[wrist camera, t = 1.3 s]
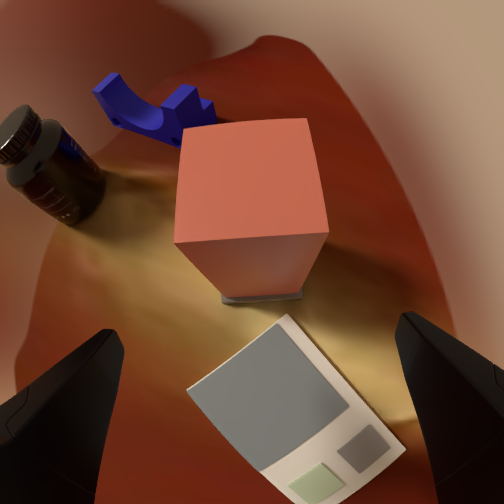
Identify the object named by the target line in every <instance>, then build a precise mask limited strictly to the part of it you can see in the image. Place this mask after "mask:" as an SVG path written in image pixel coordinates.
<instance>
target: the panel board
mask: <svg viewBox="0 0 504 504" xmlns="http://www.w3.org/2000/svg"><path fill="white" fill-rule="evenodd" d="M187 393H188V394H189V395H190V397H191V398H192V399H193V400H194V402H195V403H196V404H197V405H198V407H199V408H200V409H201V410H202V411H203V413H204V414H205V415H206V416H207V417H208V419H209V420H210V421H211V422H212V423H213V424H214V426H215V427H216V428H217V429H218V430H219V431H220V432H221V433H222V435H223V436H224V437H225V438H226V439H227V440H228V441H229V442H230V443H231V444H232V445H233V447H234V448H235V449H236V450H237V451H238V452H239V453H240V454H241V455H242V456H243V457H244V458H245V459H246V460H247V461H248V462H249V463H250V464H251V465H252V466H253V467H254V468H255V469H256V470H257V471H258V472H260V473H261V474H262V475H263V476H265V477H266V478H267V479H268V480H269V481H270V482H271V483H272V484H273V485H274V486H275V487H276V488H278V489H279V490H280V491H281V492H282V493H283V494H284V495H286V496H287V497H288V498H289V499H290V500H291V501H293V502H294V503H295V504H338V503H340V502H341V501H343V500H344V499H346V498H347V497H349V496H350V495H352V494H353V493H354V492H356V491H357V490H359V489H360V488H361V487H363V486H364V485H365V484H367V483H368V482H369V481H370V480H372V479H373V478H374V477H375V476H377V475H378V474H379V473H380V472H382V471H383V470H384V469H385V468H386V467H388V466H389V465H390V464H391V463H392V462H393V461H394V460H396V459H397V458H398V457H399V456H400V455H401V454H402V453H403V452H404V451H405V450H406V449H405V448H404V446H403V445H402V444H401V443H400V442H399V441H398V440H397V439H396V437H395V436H394V435H393V434H392V433H391V432H390V431H389V430H388V429H387V427H386V426H385V425H384V424H383V423H382V422H381V421H380V420H379V418H378V417H377V416H376V415H375V414H374V413H373V412H372V411H371V409H370V408H369V407H368V406H367V405H366V404H365V403H364V401H363V400H362V399H361V398H360V397H359V396H358V395H357V393H356V392H355V391H354V390H353V389H352V388H351V387H350V385H349V384H348V383H347V382H346V381H345V380H344V379H343V377H342V376H341V375H340V374H339V373H338V372H337V371H336V369H335V368H334V367H333V366H332V365H331V364H330V363H329V361H328V360H327V359H326V358H325V357H324V356H323V354H322V353H321V352H320V351H319V350H318V349H317V347H316V346H315V345H314V344H313V343H312V342H311V341H310V339H309V338H308V337H307V336H306V335H305V334H304V332H303V331H302V330H301V329H300V328H299V327H298V325H297V324H296V323H295V322H294V321H293V320H292V318H291V317H290V316H289V315H288V314H287V313H286V314H285V315H284V316H282V317H281V318H280V319H279V320H278V321H276V322H275V323H274V324H273V325H271V326H270V327H269V328H268V329H267V330H265V331H264V332H263V333H262V334H260V335H259V336H258V337H257V338H255V339H254V340H253V341H251V342H250V343H249V344H248V345H246V346H245V347H244V348H243V349H241V350H240V351H239V352H237V353H236V354H235V355H233V356H232V357H231V358H229V359H228V360H227V361H225V362H224V363H223V364H221V365H220V366H219V367H217V368H216V369H215V370H213V371H212V372H211V373H209V374H208V375H207V376H205V377H204V378H202V379H201V380H200V381H198V382H197V383H196V384H194V385H193V386H191V387H190V388H188V389H187Z"/></svg>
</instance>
